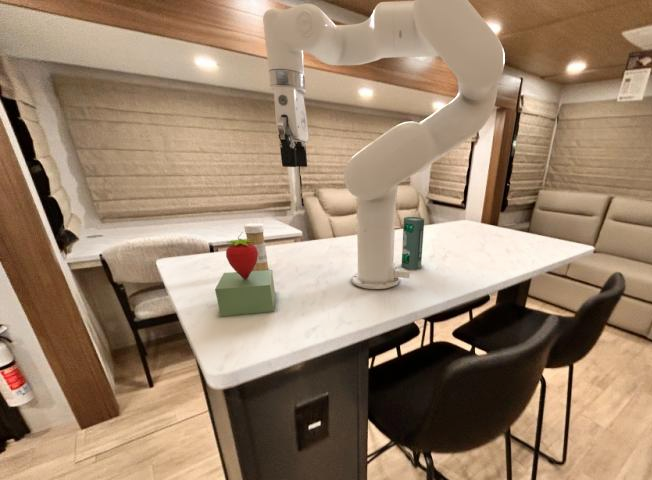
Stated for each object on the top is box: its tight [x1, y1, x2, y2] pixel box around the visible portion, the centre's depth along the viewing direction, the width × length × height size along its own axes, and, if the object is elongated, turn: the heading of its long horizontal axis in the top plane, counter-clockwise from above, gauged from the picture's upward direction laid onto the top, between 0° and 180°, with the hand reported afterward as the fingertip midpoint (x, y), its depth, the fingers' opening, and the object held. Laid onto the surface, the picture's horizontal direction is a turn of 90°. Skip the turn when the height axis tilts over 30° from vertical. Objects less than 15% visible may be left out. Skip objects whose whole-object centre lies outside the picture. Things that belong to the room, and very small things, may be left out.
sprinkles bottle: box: [243, 222, 270, 271], centre depth 85 cm, size 5×5×14 cm
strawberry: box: [225, 231, 258, 279], centre depth 64 cm, size 6×8×10 cm
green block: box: [214, 269, 276, 317], centre depth 67 cm, size 10×10×6 cm
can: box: [401, 216, 425, 271], centre depth 95 cm, size 6×6×15 cm
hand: (295, 166), depth 76 cm, fingers open, 9 cm apart
